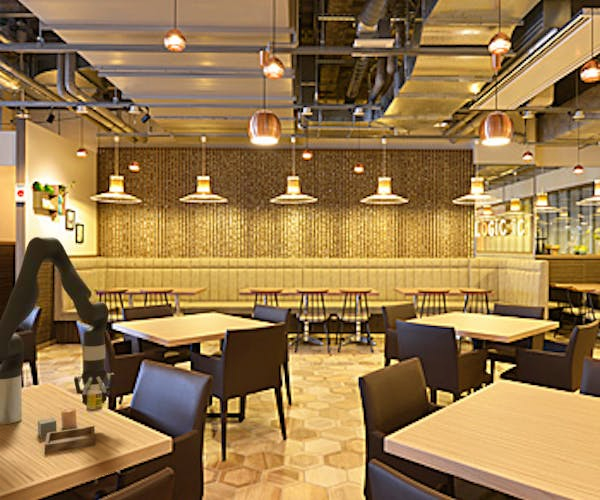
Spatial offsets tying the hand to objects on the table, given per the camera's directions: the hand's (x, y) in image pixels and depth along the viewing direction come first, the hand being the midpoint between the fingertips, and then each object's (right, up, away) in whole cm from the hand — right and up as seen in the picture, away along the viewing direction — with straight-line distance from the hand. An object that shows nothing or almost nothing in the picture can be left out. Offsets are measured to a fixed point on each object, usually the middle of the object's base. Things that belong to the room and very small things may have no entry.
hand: (94, 403), depth 184 cm
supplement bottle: (0, -3, 0) cm, 3 cm away
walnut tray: (-3, -9, -13) cm, 17 cm away
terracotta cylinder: (-11, -10, +3) cm, 15 cm away
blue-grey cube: (-15, -10, -4) cm, 18 cm away
